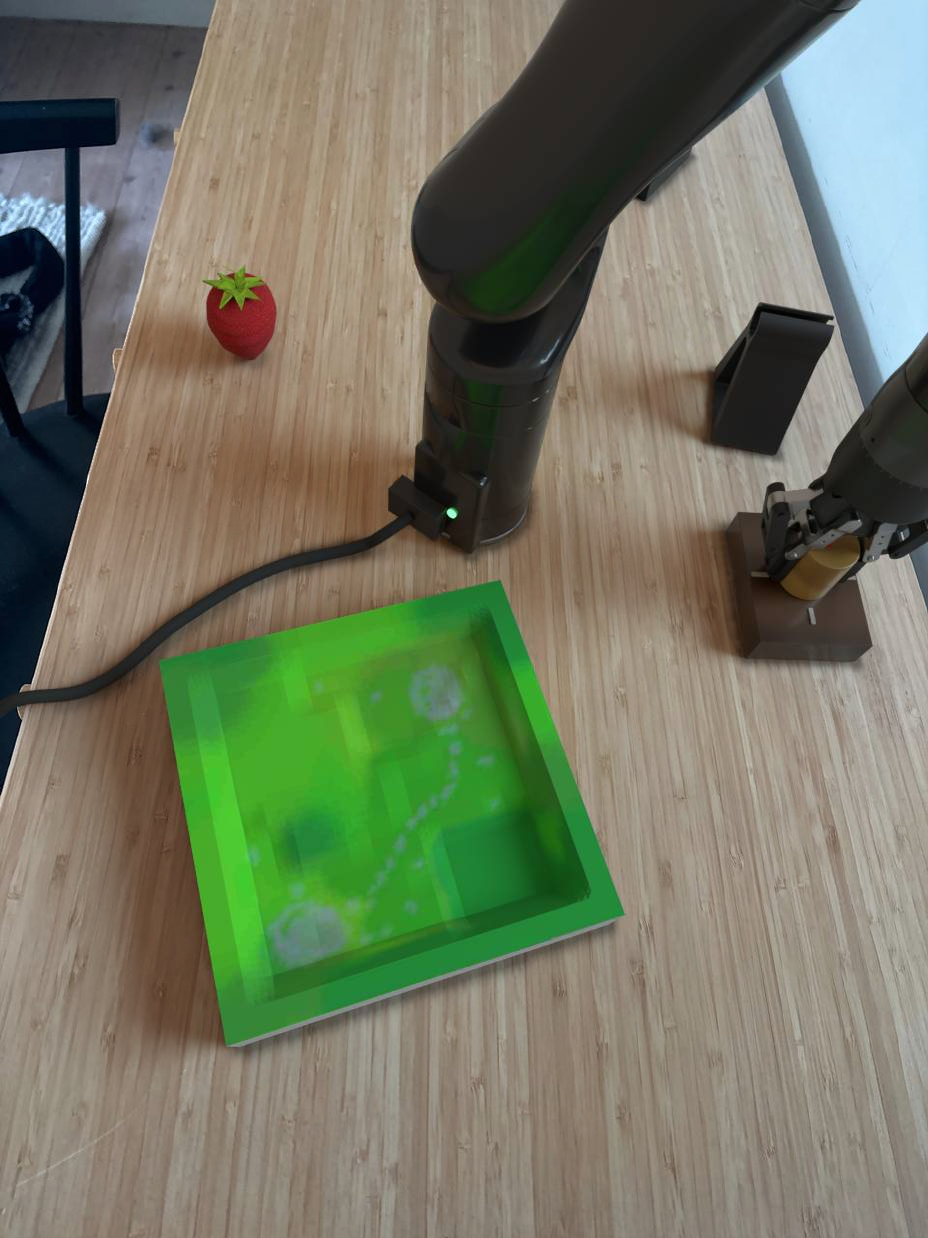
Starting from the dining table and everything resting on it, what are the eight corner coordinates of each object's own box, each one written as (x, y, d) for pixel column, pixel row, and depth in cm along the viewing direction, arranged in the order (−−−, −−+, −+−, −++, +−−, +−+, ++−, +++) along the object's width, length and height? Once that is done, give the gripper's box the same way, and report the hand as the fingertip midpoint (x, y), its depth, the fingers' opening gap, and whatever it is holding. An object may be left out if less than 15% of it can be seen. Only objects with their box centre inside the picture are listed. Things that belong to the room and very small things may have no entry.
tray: (174, 687, 64) (158, 660, 60) (493, 609, 69) (500, 579, 65) (239, 1047, 54) (226, 1046, 50) (607, 925, 59) (625, 914, 55)
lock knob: (822, 551, 71) (853, 515, 66) (837, 599, 69) (870, 566, 64) (770, 553, 70) (798, 517, 65) (784, 601, 68) (813, 567, 63)
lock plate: (854, 661, 70) (874, 645, 67) (745, 658, 69) (761, 641, 66) (826, 535, 75) (843, 515, 72) (725, 530, 74) (738, 510, 72)
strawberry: (215, 388, 77) (192, 301, 68) (219, 325, 80) (198, 235, 71) (282, 388, 78) (268, 302, 69) (284, 326, 81) (271, 236, 72)
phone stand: (774, 456, 79) (835, 362, 68) (709, 444, 79) (760, 348, 68) (775, 382, 83) (833, 282, 72) (714, 370, 83) (762, 268, 72)
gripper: (822, 481, 52) (723, 611, 67) (1048, 490, 53) (900, 616, 68) (799, 384, 55) (710, 529, 70) (1012, 395, 56) (879, 535, 72)
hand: (804, 572), depth 69 cm, fingers closed on lock knob, 4 cm apart
